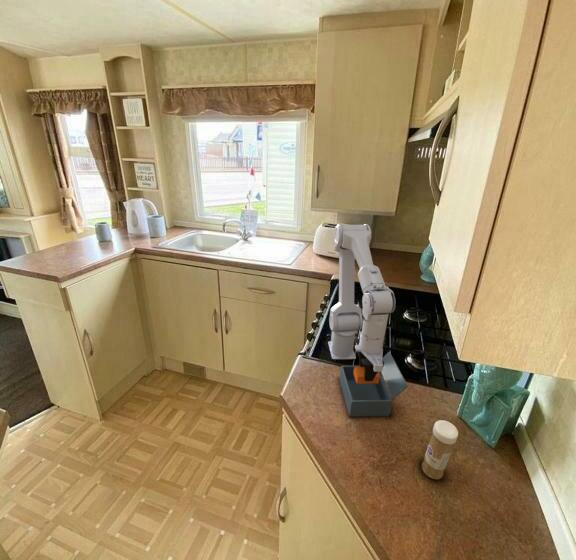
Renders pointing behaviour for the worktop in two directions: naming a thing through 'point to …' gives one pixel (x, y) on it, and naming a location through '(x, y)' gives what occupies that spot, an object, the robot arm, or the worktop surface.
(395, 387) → the flap
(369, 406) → the grey open box
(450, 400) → the worktop surface
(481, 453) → the worktop surface
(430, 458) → the sprinkles bottle
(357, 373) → the packet
